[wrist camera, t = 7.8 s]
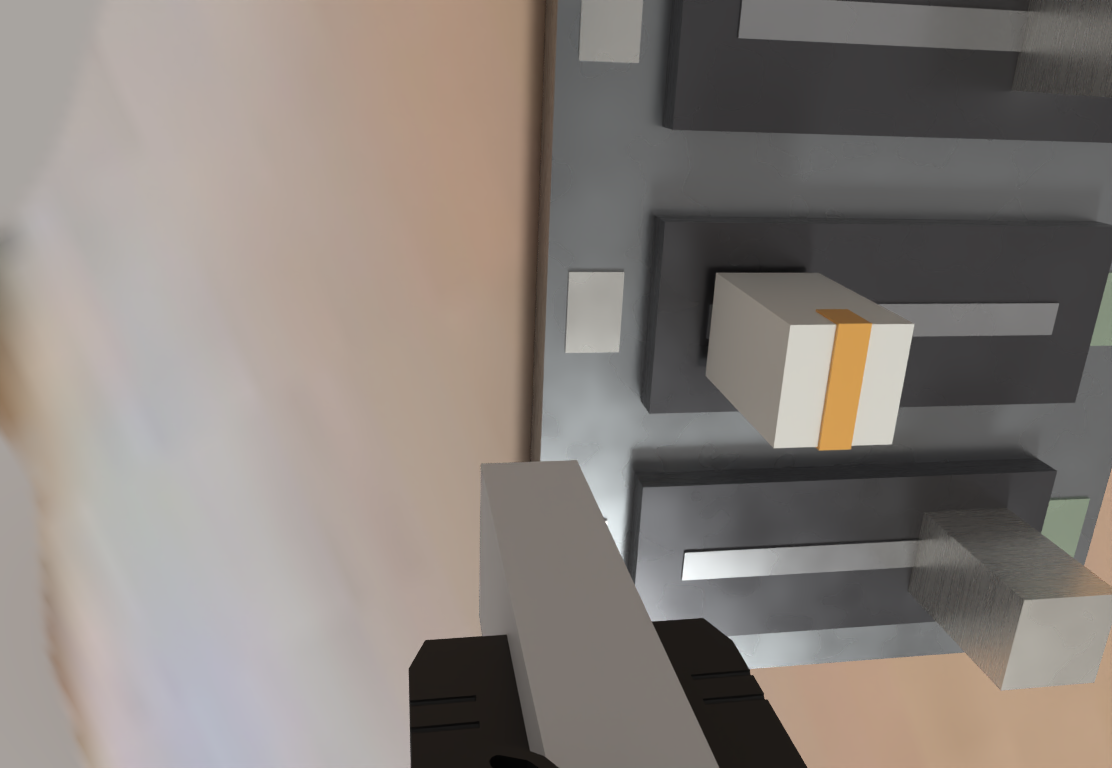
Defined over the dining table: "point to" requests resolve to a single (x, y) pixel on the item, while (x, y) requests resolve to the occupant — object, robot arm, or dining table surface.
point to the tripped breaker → (807, 359)
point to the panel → (864, 267)
